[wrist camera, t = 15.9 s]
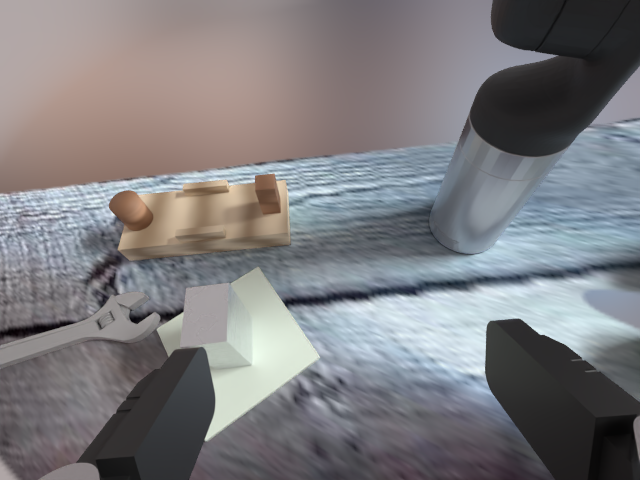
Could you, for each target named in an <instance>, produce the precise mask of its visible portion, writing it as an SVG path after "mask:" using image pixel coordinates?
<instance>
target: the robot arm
mask: <svg viewBox="0 0 640 480" xmlns="http://www.w3.org/2000/svg"><path fill="white" fill-rule="evenodd" d="M491 25H492V30H493V32H494V35H495V37H496V38H497V39H498V40H500V41H501V42H503V43H505V44H507V45H510V46H512V47H515V48H518V49H522V50H531V51H535V52H540V53H547V54H553V55H559V56H556V57H554V58H551V59H548V60H544V61H540V62H536V63H530V64H525V65H520V66H514V67H510V68H507V69H504V70H501V71H499V72H497V73H495V74H493V75H492V76H490V77H489V78H488V79H487V80H486V81H485V82H484V83H483V84H482V86H481V87H480V89H479V90H478V92H477V94H476V97H475V99H474V102H473V105H472V107H471V110H470V113H469V115H468V118H467V120H466V123H465V126H464V128H463V131H462V134H461V136H460V139H459V141H458V144H457V146H456V149H455V151H454V154H453V157H452V159H451V162H450V164H449V167H448V169H447V172H446V174H445V177H444V180H443V182H442V185H441V187H440V190H439V192H438V195H437V197H436V200H435V202H434V205H433V207H432V210H431V213H430V216H429V226H430V229H431V232H432V233H433V235H434V237H435V238H436V239H437V240H438V241H439V242H440V243H441V244H443V245H444V246H445V247H447V248H449V249H451V250H453V251H456V252H459V253H465V254H476V253H481V252H484V251H486V250H488V249H489V248H491V247H492V246H493V245H494V244H495V242H496V241H497V240H498V239H499V237H500V236H501V235H502V233H503V232H504V231H505V230H506V228H507V227H508V226H509V225H510V223H511V222H512V221H513V219H514V218H515V217H516V215H517V214H518V213H519V212H520V210H521V209H522V208H523V206H524V205H525V204H526V202H527V201H528V200H529V199H530V197H531V196H532V195H533V193H534V192H535V191H536V189H537V188H538V187H539V186H540V184H541V183H542V182H543V180H544V179H545V178H546V176H547V175H548V174H549V172H550V171H551V170H552V169H553V167H554V166H555V164H556V163H557V162H558V160H559V159H560V158H561V157H562V155H563V154H564V153H565V151H566V150H567V149H568V147H569V146H570V145H571V143H572V142H573V141H574V140H575V138H576V137H577V136H578V134H579V133H580V132H582V131H583V130H584V129H585V128H587V127H588V126H589V125H590V124H591V123H592V122H593V120H594V119H595V118H596V117H597V116H598V115H599V113H600V112H601V111H602V109H604V107H605V106H606V105H607V104H608V102H609V101H610V100H611V99H612V97H613V96H614V95H615V94H616V93H617V91H618V90H619V89H620V88H621V87H622V85H624V83H625V82H626V81H627V80H628V78H629V77H630V76H631V75H632V74H633V73H634V72H635V71H636V70H637V68H638V67H639V66H640V0H493V3H492V10H491ZM485 373H486V378H487V382H488V385H489V388H490V390H491V392H492V393H493V395H494V396H495V398H496V399H497V400H498V402H499V403H500V404H501V406H502V407H503V409H504V410H505V411H506V413H507V414H508V415H509V417H510V418H511V419H512V421H513V422H514V424H515V425H516V426H517V428H518V429H519V430H520V432H521V433H522V435H523V436H524V437H525V439H526V440H527V441H528V443H529V444H530V445H531V447H532V448H533V450H534V451H535V452H536V454H537V455H538V456H539V458H540V459H541V460H542V462H543V463H544V465H545V466H546V467H547V469H548V470H549V471H550V473H551V474H552V476H553V477H554V478H555V480H640V402H638V401H637V400H636V399H635V398H633V397H632V396H631V395H629V394H628V393H627V392H625V391H624V390H623V389H622V388H620V387H619V386H618V385H616V384H615V383H614V382H613V381H611V380H610V379H609V378H607V377H606V376H605V375H603V374H602V373H601V372H597V371H596V368H594V367H593V366H592V365H591V364H589V363H588V362H587V361H585V360H584V361H583V360H582V358H581V357H580V356H579V355H578V354H576V353H575V352H574V351H572V350H571V349H570V348H569V347H567V346H566V345H564V344H562V343H560V342H558V341H556V340H553V339H551V338H549V337H547V336H545V335H539V334H538V333H537V332H536V331H535V330H533V329H532V328H531V327H530V326H528V325H527V324H526V323H525V322H524V321H522V320H521V319H508V320H497V321H490V322H489V323H488V325H487V331H486V361H485ZM215 401H216V400H215V391H214V386H213V381H212V376H211V371H210V366H209V362H208V357H207V353H206V350H205V349H204V348H203V347H195V348H184V349H176V350H174V351H173V352H172V354H171V355H170V356H169V358H168V359H167V360H166V362H165V363H164V365H163V366H162V367H161V369H155V370H154V371H153V372H151V373H150V374H149V375H147V376H146V377H145V378H144V379H142V380H141V381H140V382H138V383H137V385H136V386H135V387H134V389H133V390H132V391H131V392H130V394H129V395H128V396H127V399H126V401H124V402H123V403H122V404H121V405H120V407H119V408H118V409H117V412H116V414H113V416H112V417H111V418H110V420H109V421H108V422H107V423H106V425H105V426H104V427H103V429H102V430H101V431H100V433H99V434H98V435H97V436H96V438H95V439H94V440H93V442H92V443H91V444H90V445H89V447H88V448H87V449H86V451H85V452H84V453H83V454H82V456H81V457H80V458H79V460H78V461H77V462H76V463H75V464H71V465H67V466H64V467H61V468H59V469H57V470H55V471H52V472H51V473H49V474H47V475H45V476H44V477H42V478H40V479H39V480H189V478H190V476H191V473H192V471H193V468H194V465H195V463H196V460H197V458H198V455H199V453H200V450H201V447H202V445H203V442H204V440H205V437H206V435H207V432H208V429H209V427H210V424H211V422H212V419H213V416H214V412H215Z"/></svg>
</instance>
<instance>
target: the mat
mask: <svg viewBox="0 0 640 480" xmlns="http://www.w3.org/2000/svg"><path fill="white" fill-rule="evenodd" d="M230 285H231V287H232V288H233V290H234V291H235V293H236V294H237V296H238V297H239V298H240V300H241V301H242V303H243V304H244V306H245V307H246V309H247V310H248V312H249V313H250V315H251V316H252V336H253V365H250V366H243V367H235V368H227V369H219V370H216V369H215V368H213V367H211V366H210V365H209V366H210V371H211V376H212V381H213V386H214V391H215V400H216V401H215V412H214V416H213V419H212V422H211V424H210V427H209V429H208V432H207V435H206V437H205V441H209V440H210V439H212V438H213V437H214V436H216V435H217V434H218V433H220V432H221V431H222V430H224V429H225V428H226V427H228V426H229V425H230V424H232V423H233V422H235V421H236V420H237V419H239V418H240V417H241V416H243V415H244V414H245V413H247V412H248V411H249V410H251V409H252V408H254V407H255V406H256V405H258V404H259V403H260V402H262V401H263V400H264V399H266V398H267V397H268V396H270V395H271V394H273V393H274V392H275V391H277V390H278V389H279V388H281V387H282V386H283V385H285V384H286V383H287V382H289V381H290V380H291V379H293V378H294V377H296V376H297V375H298V374H300V373H301V372H302V371H304V370H305V369H306V368H308V367H309V366H310V365H312V364H313V363H315V362H316V361H317V360H319V359H320V356H319V355H318V353H317V352H316V350H315V349H314V347H313V346H312V345H311V343H310V342H309V340H308V339H307V337H306V336H305V334H304V333H303V331H302V330H301V328H300V327H299V325H298V324H297V322H296V321H295V320H294V318H293V317H292V315H291V314H290V312H289V311H288V309H287V308H286V306H285V305H284V303H283V302H282V300H281V299H280V297H279V296H278V295H277V293H276V292H275V290H274V289H273V287H272V286H271V284H270V283H269V281H268V280H267V278H266V277H265V275H264V274H263V272H262V271H261V270H260V268H259V267H257V268H255V269H253V270H252V271H250V272H248V273H247V274H245V275H244V276H242V277H240V278H239V279H237V280H235V281H234V282H232V283H230ZM183 313H184V312H183ZM183 313H182V314H180V315H178V316H177V317H175V318H173V319H172V320H170V321H168V322H167V323H165V324H164V325H162V326H160V327H159V328H157V332H158V334H159V336H160V338H161V341H162V343H163V345H164V348H165V350H166V352H167V354H168V357H169V356H170V355H171V354H172V352H173V351H174V350H176V349H182V348H180V341H181V332H182V322H183Z"/></svg>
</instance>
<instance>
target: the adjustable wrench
mask: <svg viewBox="0 0 640 480" xmlns="http://www.w3.org/2000/svg"><path fill="white" fill-rule="evenodd" d="M148 300H150V298H149V297H148V296H147V295H146V294H144V293H142V292H127V293H124V294H121V295H118V296H114V295H112V296H110V298H109V300H107V301H106V302H107V303H106V304H105V305H104V306H103V307H102V308H101V309H100V310H99V311H98V312H97V313H95V314H94V315H93V316H91V317H90V318H88V319H86V320H83V321H81V322H78V323H74V324H71V325H68V326H64V327H61V328H58V329H54V330H51V331H47V332H44V333H41V334H37V335H34V336H30V337H27V338H24V339H20V340H17V341H13V342H10V343H7V344H3V345H0V369H2V368H5V367H8V366H11V365H14V364H17V363H20V362H23V361H26V360H29V359H32V358H35V357H39V356H42V355H45V354H48V353H51V352H54V351H57V350H60V349H63V348H66V347H69V346H72V345H75V344H78V343H81V342H84V341H89V340H97V339H99V340H113V341H119V342H124V343H134V342H138V341H140V340H142V339H144V338H146V337H147V336H148V335H150V334H151V333H152V332H153V330H154V329H155V328H156V327H157V325H158V323H159V321H160V315H158V314H157V313H156V312H154V313H153V314H151V315H150V316H148V317H147V318H145V319H144V320H143V321H141V322H140V323H138V324H135V323H132V322H131V321H130V319H129V313H130V310H133V311H134V310H135V309H136V308H138V307H139V306H141V305H142V304H144V303H145V302H147V301H148Z"/></svg>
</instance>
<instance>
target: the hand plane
mask: <svg viewBox="0 0 640 480" xmlns="http://www.w3.org/2000/svg"><path fill="white" fill-rule="evenodd" d="M109 208H110V210H111V211H112V212H113V213H114V214H115V215H116V216H117V217H118V218H119V219H120V220H121V221H122V222H123V223H124V228H123V232H122V236H121V239H120V243H119V247H118V251H119V252H121V253H122V254H123V255H124V256H125V257H126V258H127V259H129V260H130V261H134V260H144V259H154V258H164V257H174V256H183V255H193V254H203V253H213V252H223V251H233V250H243V249H253V248H263V247H273V246H283V245H291V242H290V221H289V199H288V190H287V185H286V180H282V181H276V178H275V174H267V175H257V176H255V183H252V184H242V185H233V186H229V184H228V182H227V180H219V181H209V182H199V183H189V184H184V185H183V191H173V192H163V193H153V194H143V195H137V193H135V192H134V191H123V192H120V193H118V194H117V195H115V196H114V197H113V198H112V199H111V201H110V203H109Z"/></svg>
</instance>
